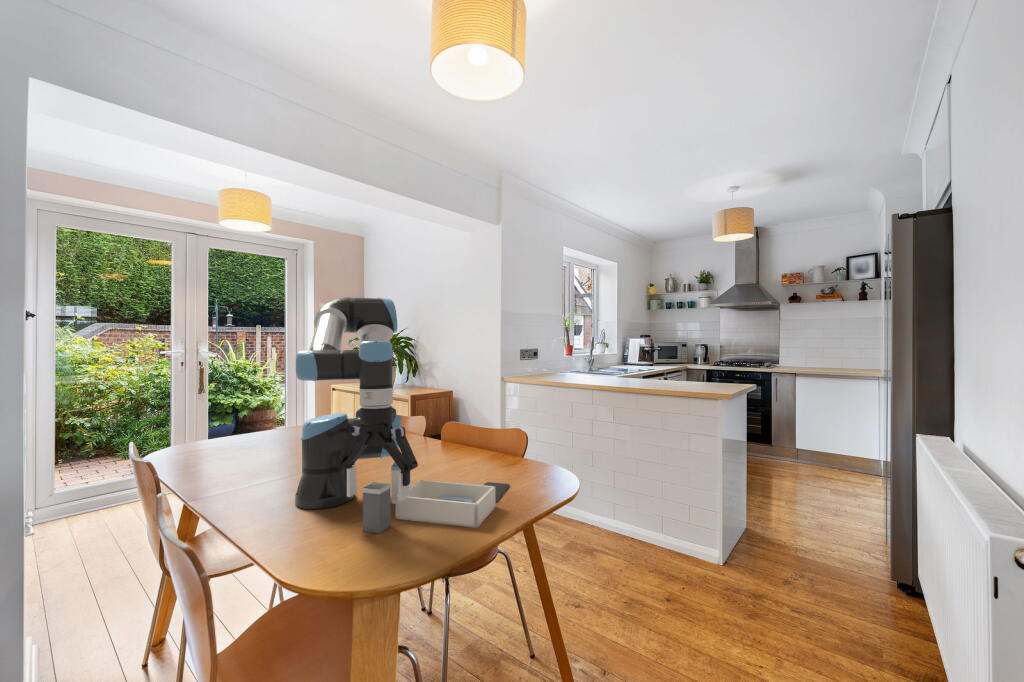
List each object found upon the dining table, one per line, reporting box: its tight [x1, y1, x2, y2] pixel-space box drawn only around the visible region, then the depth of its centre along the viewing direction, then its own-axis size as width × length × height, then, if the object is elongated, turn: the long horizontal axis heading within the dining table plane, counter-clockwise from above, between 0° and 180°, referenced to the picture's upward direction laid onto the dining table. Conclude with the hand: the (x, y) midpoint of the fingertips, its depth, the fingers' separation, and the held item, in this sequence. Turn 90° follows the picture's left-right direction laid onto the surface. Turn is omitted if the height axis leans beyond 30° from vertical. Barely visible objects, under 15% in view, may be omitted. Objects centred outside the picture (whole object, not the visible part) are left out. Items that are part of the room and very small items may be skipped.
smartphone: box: [483, 481, 510, 504], centre depth 127 cm, size 8×1×16 cm
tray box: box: [395, 479, 497, 529], centre depth 112 cm, size 22×14×6 cm, turn 74°
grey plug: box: [361, 481, 392, 534], centre depth 103 cm, size 5×5×10 cm
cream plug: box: [390, 461, 412, 505], centre depth 121 cm, size 5×5×10 cm
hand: (376, 497), depth 103 cm, fingers open, 13 cm apart
